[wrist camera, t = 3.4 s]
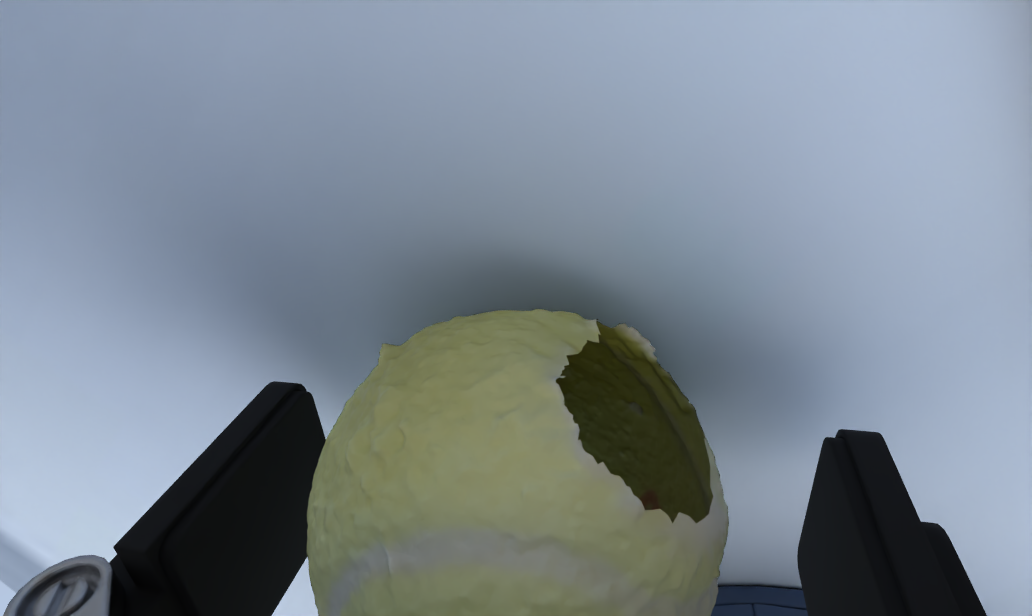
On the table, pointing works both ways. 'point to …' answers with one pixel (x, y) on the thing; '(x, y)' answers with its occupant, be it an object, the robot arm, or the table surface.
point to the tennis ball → (517, 479)
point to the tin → (759, 601)
